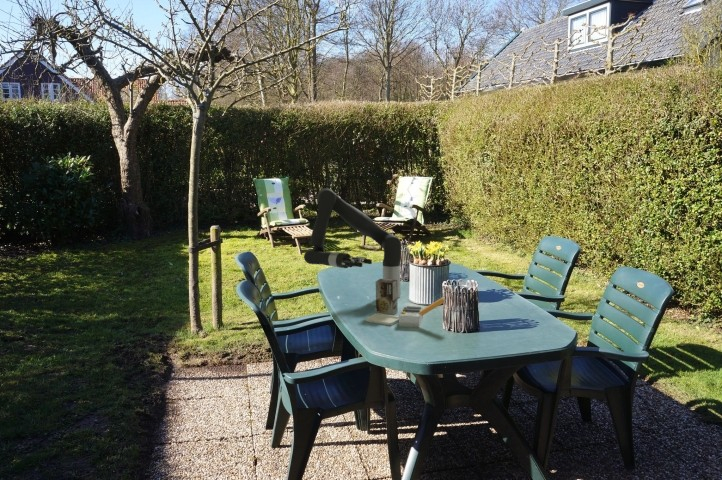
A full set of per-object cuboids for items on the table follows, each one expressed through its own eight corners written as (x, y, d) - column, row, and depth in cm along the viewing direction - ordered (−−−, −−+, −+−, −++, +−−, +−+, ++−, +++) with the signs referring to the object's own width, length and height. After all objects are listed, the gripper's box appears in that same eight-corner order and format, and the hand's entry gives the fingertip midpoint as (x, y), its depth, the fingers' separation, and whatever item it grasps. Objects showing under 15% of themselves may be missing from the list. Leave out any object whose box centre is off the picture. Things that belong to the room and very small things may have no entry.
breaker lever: (420, 310, 254) (449, 292, 250) (422, 314, 254) (452, 296, 250) (419, 312, 251) (449, 294, 247) (421, 316, 251) (451, 297, 247)
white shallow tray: (377, 315, 269) (377, 312, 269) (402, 319, 262) (402, 317, 261) (365, 321, 260) (365, 318, 260) (391, 325, 253) (391, 323, 253)
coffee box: (398, 312, 274) (397, 279, 271) (393, 315, 268) (393, 282, 265) (380, 310, 277) (380, 278, 275) (375, 313, 272) (375, 281, 269)
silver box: (403, 317, 265) (403, 305, 264) (422, 318, 263) (422, 306, 262) (398, 326, 252) (398, 313, 251) (419, 327, 250) (419, 314, 249)
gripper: (331, 254, 277) (358, 258, 268) (347, 250, 289) (374, 253, 280) (331, 269, 278) (358, 273, 270) (347, 264, 290) (374, 268, 281)
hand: (366, 263), depth 275 cm, fingers open, 8 cm apart
